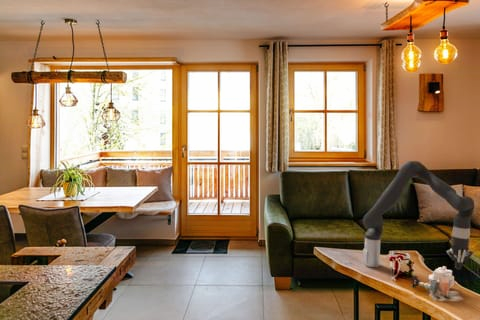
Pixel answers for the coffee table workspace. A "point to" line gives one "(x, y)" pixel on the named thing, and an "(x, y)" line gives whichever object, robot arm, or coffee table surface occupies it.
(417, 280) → the valve
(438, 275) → the mechanical part
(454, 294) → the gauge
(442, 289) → the carriage
